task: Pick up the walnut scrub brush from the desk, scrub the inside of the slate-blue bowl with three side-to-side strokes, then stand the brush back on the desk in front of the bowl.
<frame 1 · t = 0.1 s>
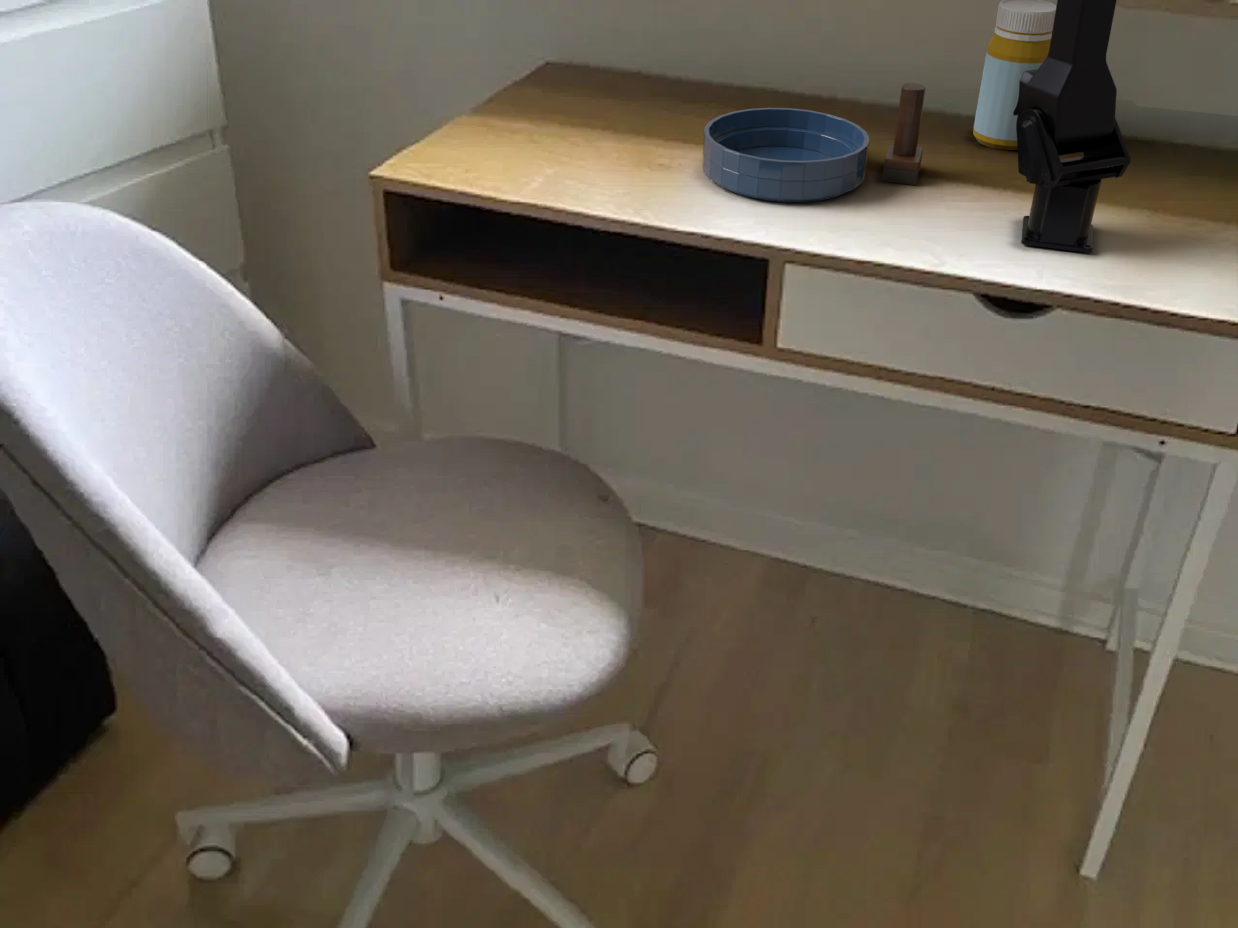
bowl: (782, 175, 137), on the table
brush: (901, 175, 138), on the table
bottle: (1003, 142, 148), on the table
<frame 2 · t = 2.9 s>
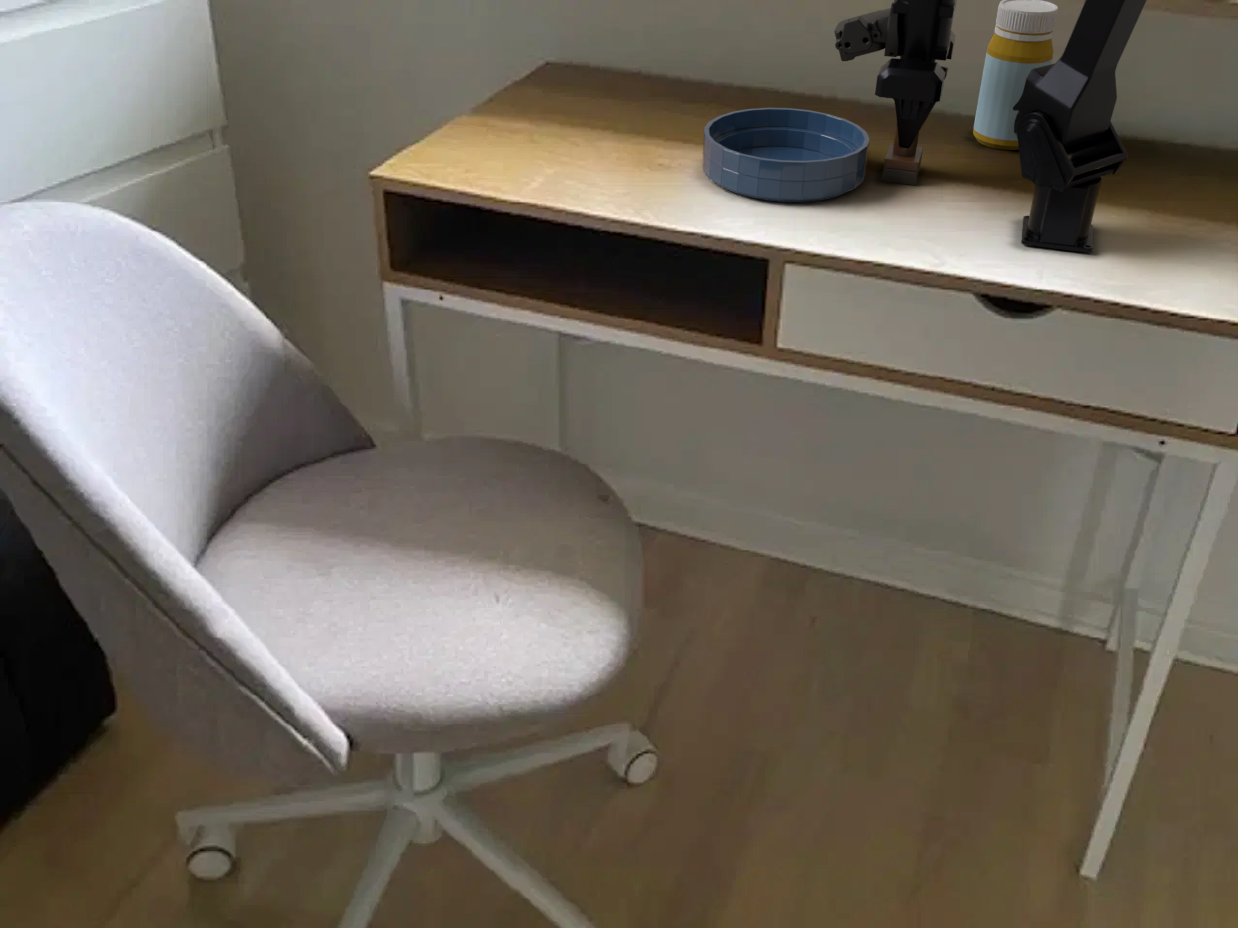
hand: (905, 143, 136), 4 cm above the table, tool pointing down, fingers closed on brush, 2 cm apart
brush: (901, 175, 138), on the table, touching gripper
everything else where it was.
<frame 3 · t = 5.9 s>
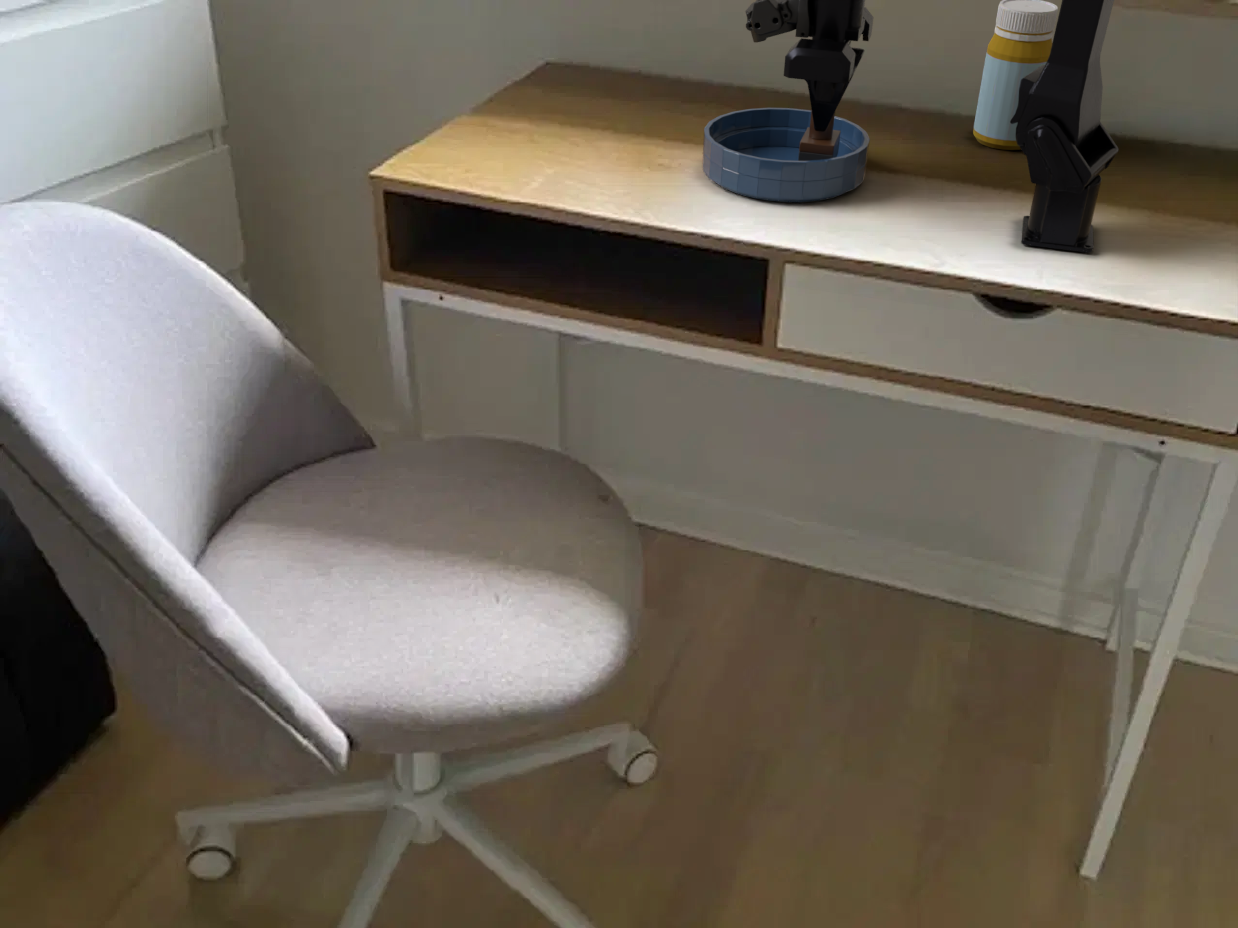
hand: (821, 126, 133), 6 cm above the table, tool pointing down, fingers closed on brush, 2 cm apart
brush: (818, 159, 135), point 2 cm above the table, touching gripper
everything else where it was.
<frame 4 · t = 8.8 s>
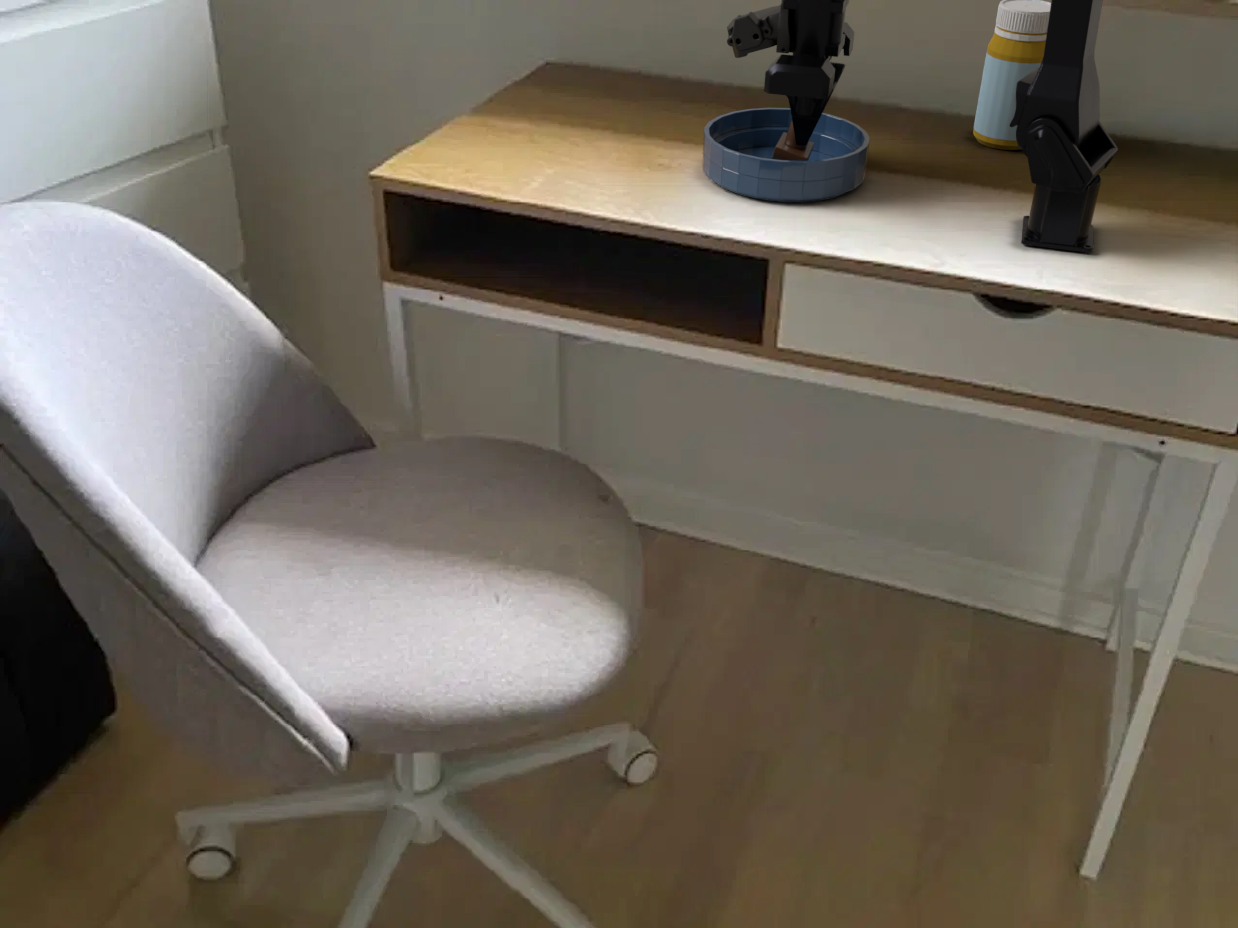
hand: (803, 140, 135), 4 cm above the table, tool pointing down, fingers closed on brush, 2 cm apart
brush: (787, 166, 136), point 1 cm above the table, tilted 14°, touching gripper
everything else where it was.
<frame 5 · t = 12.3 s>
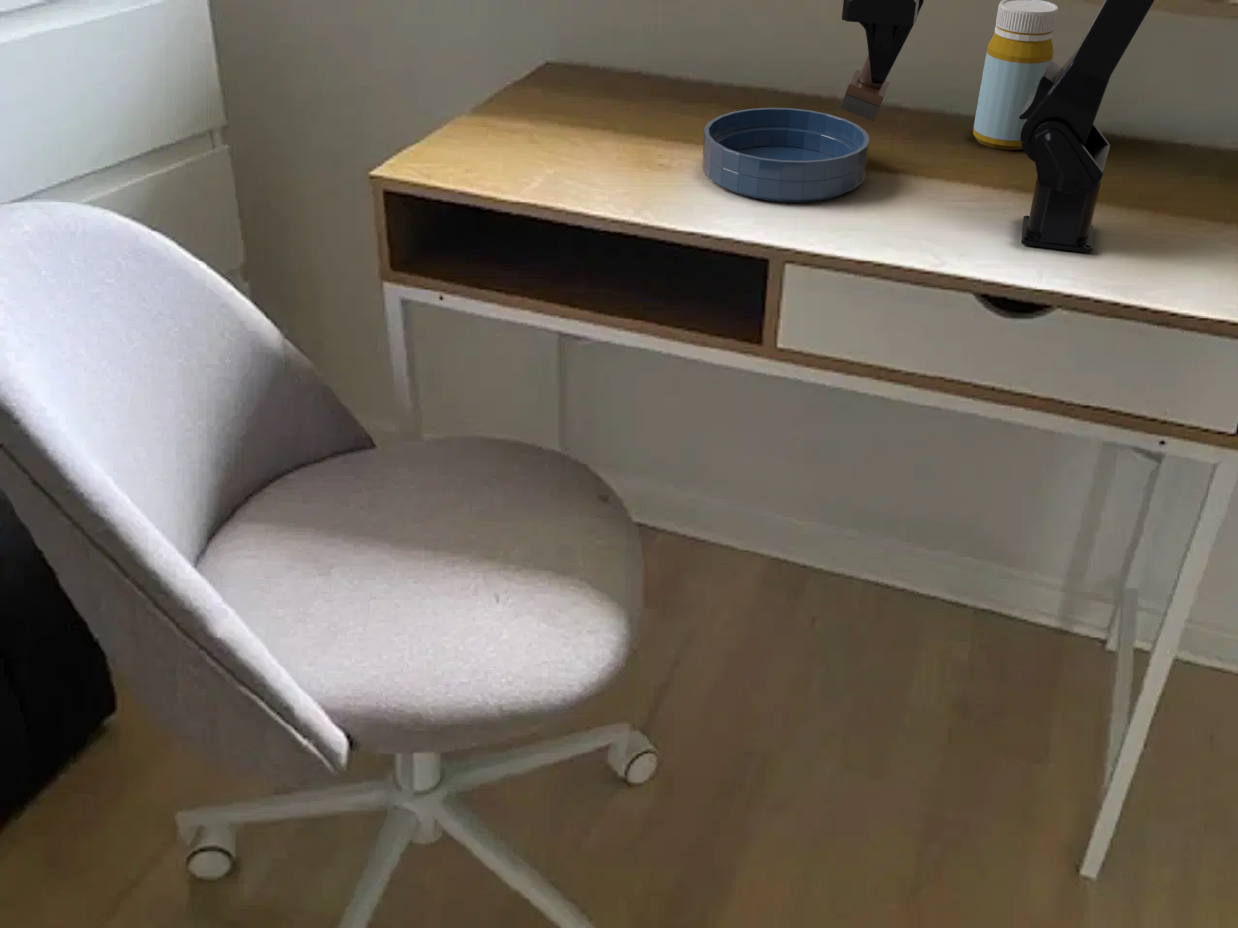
hand: (879, 79, 123), 13 cm above the table, tool pointing down, fingers closed on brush, 2 cm apart
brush: (859, 107, 125), point 10 cm above the table, tilted 15°, touching gripper
everything else where it was.
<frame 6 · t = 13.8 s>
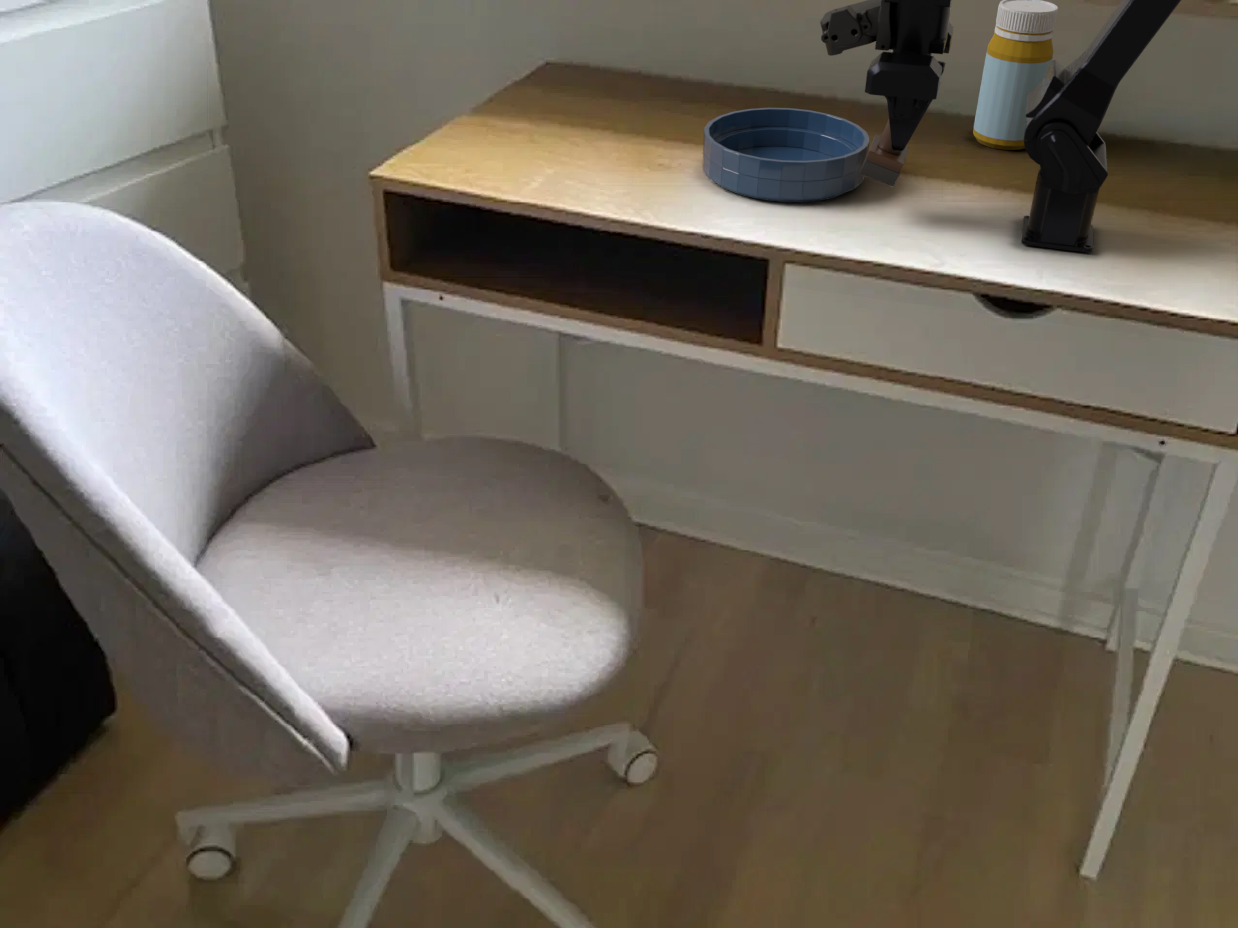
hand: (899, 145, 124), 7 cm above the table, tool pointing down, fingers closed on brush, 2 cm apart
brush: (879, 172, 126), point 4 cm above the table, tilted 16°, touching gripper
everything else where it was.
when the fingers open (3 cm above the table, at t = 15.0 s): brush stays where it is, on the table.
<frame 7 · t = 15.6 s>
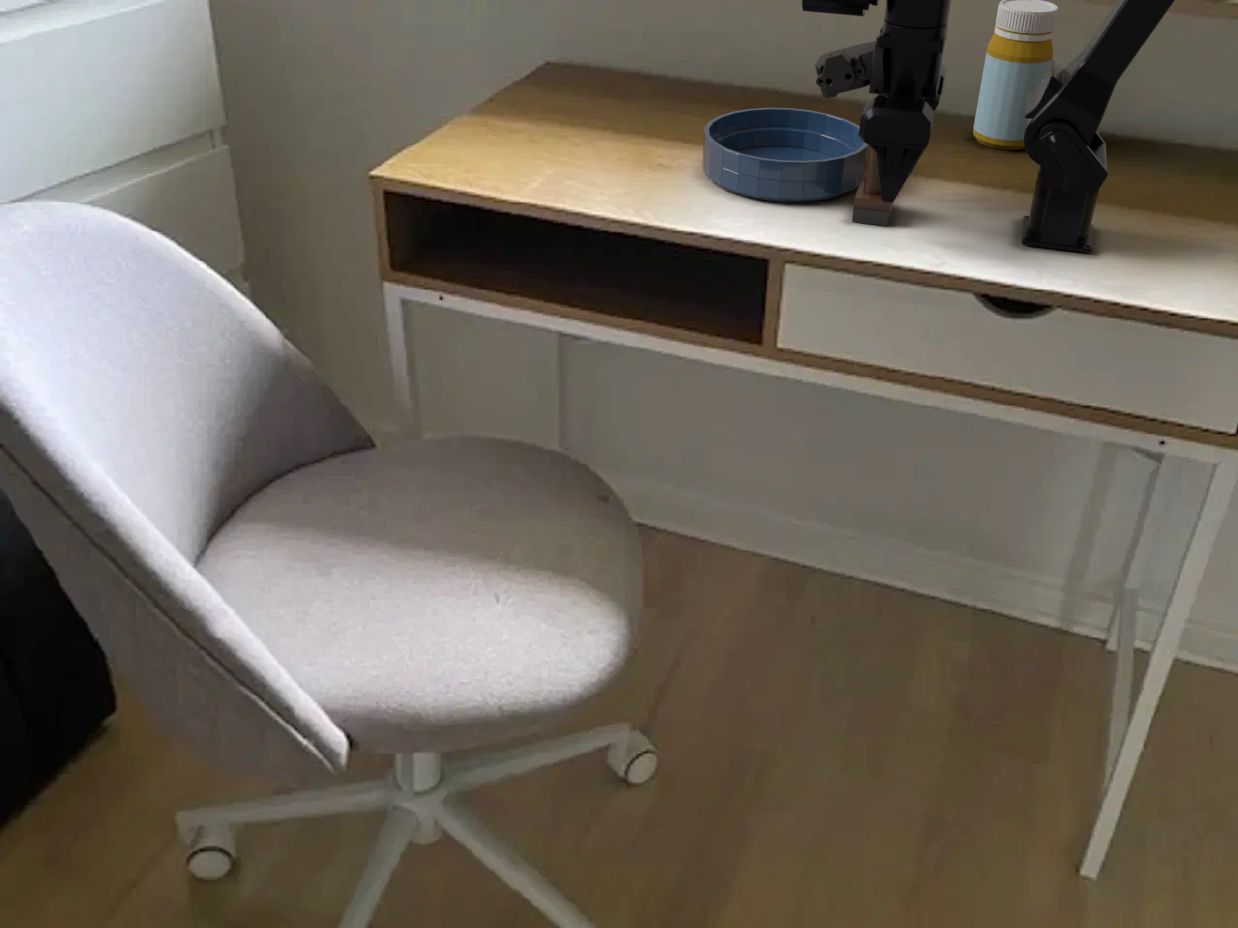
hand: (892, 185, 126), 3 cm above the table, tool pointing down, fingers open, 9 cm apart
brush: (872, 215, 128), on the table
everything else where it was.
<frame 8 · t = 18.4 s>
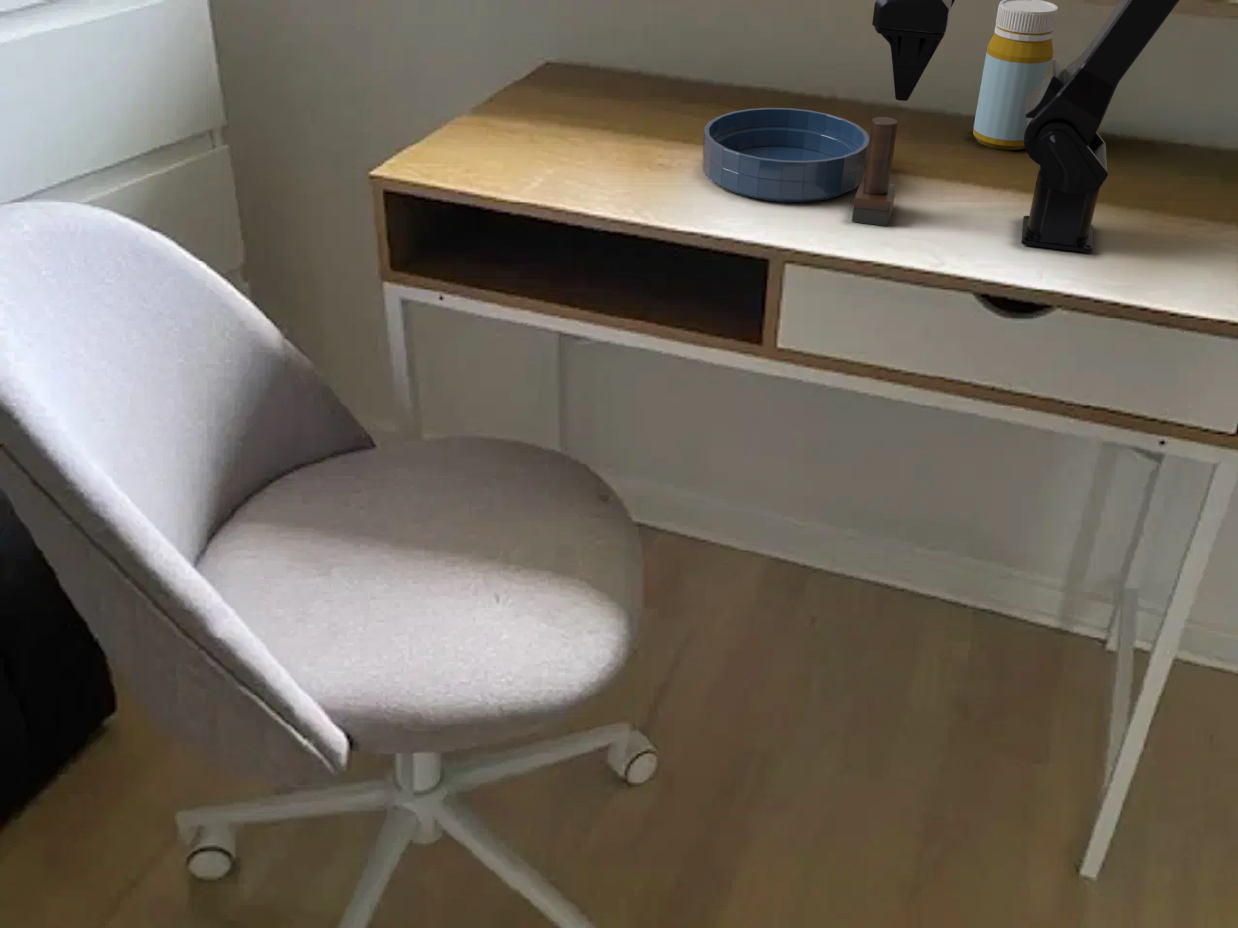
hand: (906, 85, 121), 13 cm above the table, tool pointing down, fingers open, 9 cm apart
nothing on the table moved.
at the end: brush 1.6 cm from the target spot, on the table; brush tilted 0°; the gripper is holding nothing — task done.
